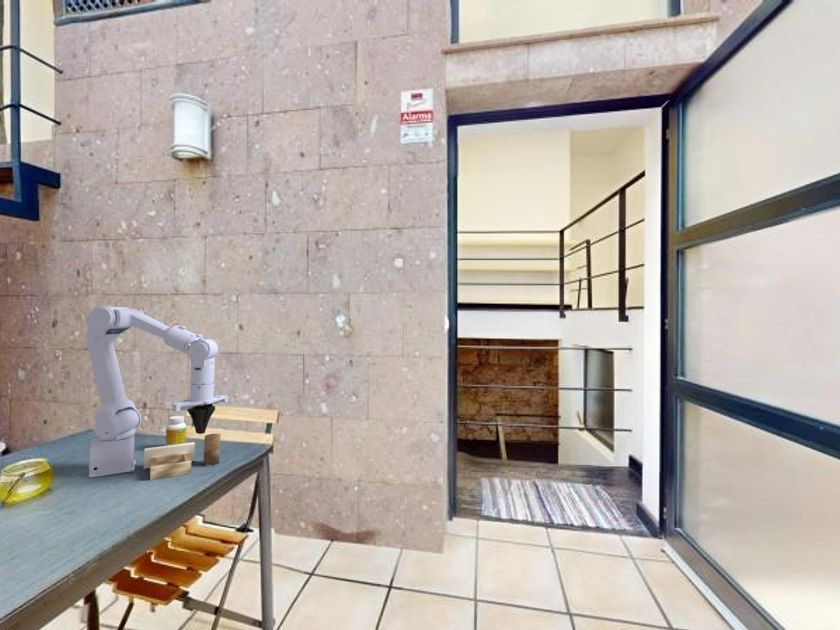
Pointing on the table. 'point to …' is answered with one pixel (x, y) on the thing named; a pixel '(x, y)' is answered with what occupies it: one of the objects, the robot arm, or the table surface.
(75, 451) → the table surface
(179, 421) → the supplement bottle
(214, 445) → the dowel
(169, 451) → the wall
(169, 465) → the socket block
